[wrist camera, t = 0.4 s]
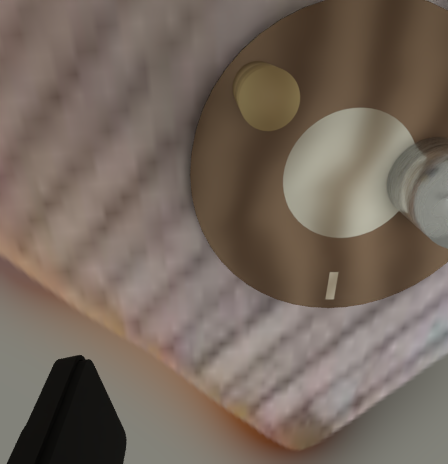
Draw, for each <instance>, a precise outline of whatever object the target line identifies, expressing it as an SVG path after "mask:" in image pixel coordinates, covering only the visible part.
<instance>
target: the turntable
mask: <svg viewBox="0 0 448 464" xmlns="http://www.w3.org/2000/svg"><path fill="white" fill-rule="evenodd" d="M433 137H444V138H448V10H446V9H444V8H441V7H439V6H437V5H435V4H433V3H431V2H429V1H425V0H325V1H322V2H319V3H316V4H313V5H310V6H307V7H304V8H302V9H300V10H298V11H296V12H294V13H292V14H290V15H288V16H286V17H284V18H282V19H280V20H279V21H278V22H276V23H275V24H273V25H272V26H270V27H269V28H267V29H266V30H265V31H263V32H262V33H260V34H259V35H258V36H257V37H256V38H255V39H253V40H252V41H251V42H250V43H249V44H248V45H247V46H246V47H245V48H244V49H242V50H241V52H240V53H239V54H238V55H237V56H236V57H235V59H234V60H233V61H232V62H231V63H230V64H229V66H228V67H227V68H226V69H225V71H224V72H223V74H222V75H221V77H220V78H219V80H218V81H217V83H216V84H215V86H214V87H213V89H212V91H211V93H210V95H209V97H208V100H207V102H206V104H205V106H204V108H203V110H202V113H201V116H200V119H199V122H198V125H197V128H196V132H195V137H194V143H193V148H192V154H191V170H190V179H191V192H192V198H193V203H194V208H195V212H196V216H197V218H198V221H199V224H200V226H201V229H202V232H203V233H204V235H205V237H206V239H207V241H208V243H209V244H210V246H211V248H212V249H213V251H214V252H215V253H216V255H217V256H218V257H219V259H220V260H221V261H222V262H223V263H224V264H225V265H226V266H227V267H228V269H229V270H230V271H231V272H232V273H233V274H235V275H236V276H237V277H238V278H240V279H241V280H242V281H244V282H245V283H246V284H248V285H249V286H251V287H253V288H254V289H256V290H258V291H260V292H261V293H263V294H266V295H268V296H270V297H273V298H275V299H278V300H281V301H285V302H288V303H291V304H296V305H302V306H308V307H321V308H335V307H348V306H354V305H361V304H366V303H369V302H373V301H377V300H380V299H383V298H386V297H389V296H391V295H394V294H396V293H399V292H401V291H403V290H405V289H407V288H409V287H411V286H413V285H415V284H417V283H418V282H420V281H422V280H423V279H425V278H426V277H428V276H430V275H431V274H433V273H434V272H435V271H437V270H438V269H439V268H440V267H442V266H443V265H444V264H446V263H447V262H448V249H447V248H444V247H441V246H439V245H437V244H436V243H435V242H433V241H432V240H431V239H430V238H429V237H428V236H426V235H425V234H424V233H423V232H422V231H421V230H420V229H419V228H417V227H416V226H415V225H414V224H413V223H412V222H411V221H410V220H409V219H407V218H406V217H405V216H404V215H403V214H402V213H401V212H400V211H399V210H397V209H396V208H395V207H394V206H393V204H392V203H391V201H390V199H389V196H388V193H387V179H388V175H389V172H390V170H391V167H392V166H393V164H394V162H395V161H396V159H397V158H398V157H399V156H400V155H401V153H402V152H404V151H405V150H406V149H407V148H408V147H410V146H411V145H413V144H415V143H416V142H419V141H421V140H424V139H427V138H433Z"/></svg>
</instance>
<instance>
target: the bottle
mask: <svg viewBox="0 0 448 464" xmlns="http://www.w3.org/2000/svg"><path fill="white" fill-rule="evenodd" d="M387 193H388V196H389V199H390V201H391V203H392V204H393V206H394V207H395V208H396V209H397V210H399V211H400V212H401V213H402V214H403V215H404V216H405V217H406V218H407V219H409V220H410V221H411V222H412V223H413V224H414V225H415V226H416V227H417V228H419V229H420V230H421V231H422V232H423V233H424V234H425V235H426V236H428V237H429V238H430V239H431V240H432V241H433V242H435V243H436V244H437V245H439V246H441V247H444V248H447V249H448V138H444V137H433V138H427V139H424V140H421V141H419V142H416V143H415V144H413V145H411V146H410V147H408V148H407V149H406V150H405V151H404V152H402V153H401V155H400V156H399V157H398V158H397V159H396V161H395V162H394V164H393V166H392V167H391V170H390V172H389V175H388V179H387Z"/></svg>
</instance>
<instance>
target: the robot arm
mask: <svg viewBox="0 0 448 464" xmlns="http://www.w3.org/2000/svg"><path fill="white" fill-rule="evenodd" d="M125 450H126V434H125V431H124V429H123V426H122V424H121V422H120V420H119V418H118V416H117V414H116V411H115V409H114V407H113V405H112V403H111V400H110V398H109V396H108V394H107V392H106V390H105V388H104V385H103V383H102V381H101V379H100V377H99V375H98V373H97V370H96V368H95V366H94V364H93V362H92V361H91V360H89V359H88V360H85V358H84V357H83V356H82V355H77V356H72V357H67V358H63V359H58V360H57V361H56V362H55V363H54V365H53V367H52V370H51V372H50V374H49V376H48V378H47V380H46V383H45V385H44V387H43V389H42V392H41V394H40V396H39V398H38V400H37V403H36V404H35V407H34V409H33V411H32V413H31V415H30V418H29V420H28V422H27V424H26V426H25V427H24V429H23V430H22V432H21V434H20V437H19V439H18V441H17V443H16V445H15V447H14V449H13V452H12V454H11V456H10V458H9V460H8V462H7V464H123V461H124V456H125Z"/></svg>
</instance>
